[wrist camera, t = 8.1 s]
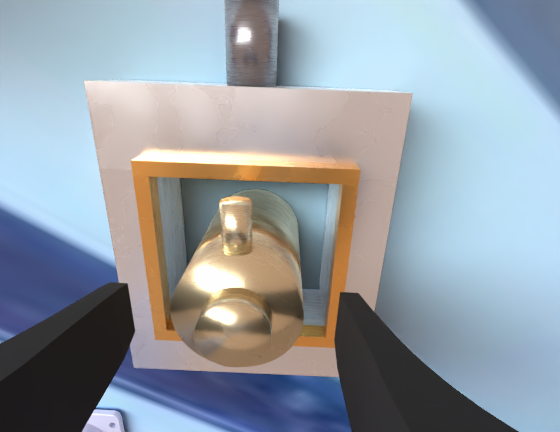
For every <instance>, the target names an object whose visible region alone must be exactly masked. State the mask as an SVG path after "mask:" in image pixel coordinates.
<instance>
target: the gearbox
mask: <svg viewBox="0 0 560 432" xmlns="http://www.w3.org/2000/svg"><path fill="white" fill-rule="evenodd" d="M278 14H279V0H225V30H226V72H227V84H222V83H196V82H170V81H144V80H92V81H84V84H85V90H86V95H87V101H88V107H89V113H90V118H91V124H92V130H93V136H94V141H95V147H96V153H97V158H98V164H99V170H100V176H101V181H102V187H103V193H104V199H105V204H106V210H107V216H108V222H109V227H110V233H111V239H112V245H113V250H114V256H115V262H116V268H117V273H118V279H119V283H128V289H129V295H130V301H131V307H132V314H133V320H134V326H135V334H134V336H133V339H132V341H131V344H130V348H131V354H132V360H133V365H134V368H151V369H173V370H195V371H218V372H240V373H262V374H284V375H306V376H328V377H339V374H338V369H337V361H336V352H335V342H334V338H335V330H336V321H337V313H338V305H339V297H340V292H351V293H359V294H360V295H361V297H362V298H363V299H364V300H365V301H366V303H367V304H368V305H369V306H370V307H371V309H372V310H373V311H375V306H376V300H377V294H378V288H379V283H380V277H381V271H382V266H383V260H384V254H385V248H386V243H387V237H388V231H389V226H390V220H391V214H392V208H393V203H394V197H395V191H396V185H397V180H398V174H399V168H400V163H401V157H402V151H403V145H404V140H405V134H406V128H407V122H408V117H409V111H410V105H411V100H412V94H413V93H407V92H400V91H394V90H379V89H353V88H327V87H301V86H276V83H277V49H278ZM180 178H197V179H221V180H246V181H270V182H295V183H320V184H329V190H328V200H327V211H326V221H325V232H324V242H323V253H322V264H321V274H320V285H319V290H318V289H302V295H303V310H304V321H303V327H302V330H301V333H300V335H299V337H298V339H297V341H296V342H295V344H294V345H293V346H292V347H291V348H290V349H289V350H288V351H287V352H286V353H285V354H283V355H282V356H280V357H279V358H277V359H275V360H273V361H271V362H268V363H265V364H262V365H257V366H251V367H227V366H222V365H219V364H217V363H214V362H212V361H209V360H207V359H205V358H203V357H201V356H200V355H198V354H197V353H195V352H194V351H192V350H191V349H190V348H189V347H188V346H187V345H186V344H185V343H184V342H183V341H182V340H181V338H180V337H179V335H178V334H177V332H176V330H175V328H174V325H173V323H172V318H171V300H172V297H173V294H174V292H175V289H176V287H177V285H178V283H179V282H180V280H181V278H182V276H183V274H184V272H185V270H186V268H187V255H186V243H185V230H184V218H183V206H182V193H181V181H180Z"/></svg>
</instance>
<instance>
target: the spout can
mask: <svg viewBox="0 0 560 432" xmlns="http://www.w3.org/2000/svg"><path fill="white" fill-rule="evenodd" d="M219 204H220V206H219V208H218V209H217V211H216V213H215V215H214V217H213V219H212V221H211V223H210V224H209V226H208V228H207V230H206V232H205V234H204V236H203V238H202V240H201V242H200V243H199V245H198V247H197V249H196V251H195V253H194V255H193V257H192V259H191V261H190V262H189V264H188V266H187V268H186V270H185V272H184V274H183V276H182V278H181V280H180V282H179V283H178V285H177V287H176V289H175V292H174V294H173V297H172V300H171V318H172V323H173V325H174V328H175V330H176V332H177V334H178V335H179V337H180V338H181V340H182V341H183V342H184V343H185V344H186V345H187V346H188V347H189V348H190V349H191V350H192V351H194V352H195V353H197V354H198V355H200V356H201V357H203V358H205V359H207V360H209V361H212V362H214V363H217V364H219V365H222V366H227V367H251V366H257V365H262V364H265V363H268V362H271V361H273V360H275V359H277V358H279V357H280V356H282V355H283V354H285V353H286V352H287V351H288V350H289V349H290V348H291V347H292V346H293V345H294V344H295V342H296V341H297V339H298V337H299V335H300V333H301V330H302V327H303V321H304V310H303V295H302V279H301V263H300V248H299V232H298V222H297V218H296V215H295V213H294V211H293V210H292V208H291V207H290V205H289V204H288V203H287V202H286V201H285V200H284V199H282V198H281V197H279V196H278V195H276V194H274V193H272V192H269V191H266V190H261V189H247V190H242V191H239V192H237V193H234V194H232V195H231V196H229V197H226V198H223V199H221V200H220V202H219Z"/></svg>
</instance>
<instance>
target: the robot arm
mask: <svg viewBox="0 0 560 432" xmlns="http://www.w3.org/2000/svg"><path fill="white" fill-rule="evenodd" d="M134 334H135V326H134V320H133V314H132V307H131V301H130V295H129V289H128V283H111V282H110V283H108V284H106V285H104V286H102V287H100V288H98V289H97V290H95V291H93V292H91V293H90V294H88V295H86V296H85V297H83V298H81V299H80V300H78V301H76V302H75V303H73V304H71V305H70V306H68V307H66V308H64V309H63V310H61V311H59V312H58V313H56V314H54V315H53V316H51V317H49V318H47V319H45V320H44V321H42V322H40V323H38V324H36V325H35V326H33V327H31V328H29V329H27V330H25V331H24V332H22V333H20V334H18V335H16V336H14V337H12V338H11V339H9V340H7V341H5V342H3V343H1V344H0V432H125V430H124V426H123V421H122V416H121V414H120V413H119V412H118V411H115V410H97V409H95V408H96V406H97V405H98V403H99V401H100V400H101V398H102V396H103V394H104V393H105V391H106V389H107V388H108V386H109V384H110V383H111V381H112V379H113V377H114V376H115V374H116V372H117V370H118V369H119V367H120V365H121V363H122V361H123V360H124V358H125V355H126V353H127V351H128V348H129V346H130V344H131V341H132V339H133V336H134ZM334 342H335V352H336V361H337V369H338V374H339V378H340V383H341V387H342V391H343V396H344V400H345V404H346V409H347V413H348V417H349V422H350V426H351V430H352V432H518V431H517V430H515V429H513V428H512V427H510V426H509V425H507V424H505V423H504V422H502V421H501V420H499V419H497V418H496V417H494V416H493V415H491V414H490V413H488V412H487V411H485V410H484V409H482V408H481V407H479V406H478V405H477V404H475V403H474V402H472V401H471V400H470V399H468V398H467V397H466V396H464V395H463V394H461V393H460V392H459V391H457V390H456V389H455V388H453V387H452V386H451V385H449V384H448V383H447V382H446V381H444V380H443V379H442V378H441V377H440V376H438V375H437V374H436V373H435V372H434V371H432V370H431V369H430V368H429V367H428V366H426V365H425V364H424V363H423V362H422V361H421V360H420V359H419V358H417V357H416V356H415V355H414V354H413V353H412V352H411V351H410V350H409V349H408V348H407V347H406V346H405V345H404V344H403V343H402V342H401V341H400V340H399V339H398V338H397V337H396V336H395V335H394V334H393V332H392V331H391V330H390V329H389V328H388V327H387V326H386V325H385V324H384V323H383V321H382V320H381V319H380V318H379V317H378V316H377V314H376V313H375V312H374V311H373V310H372V309H371V307H370V306H369V305H368V304H367V303H366V301H365V300H364V299H363V298H362V297H361V295H360V294H359V293H351V292H340V297H339V305H338V313H337V321H336V330H335V338H334Z"/></svg>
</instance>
